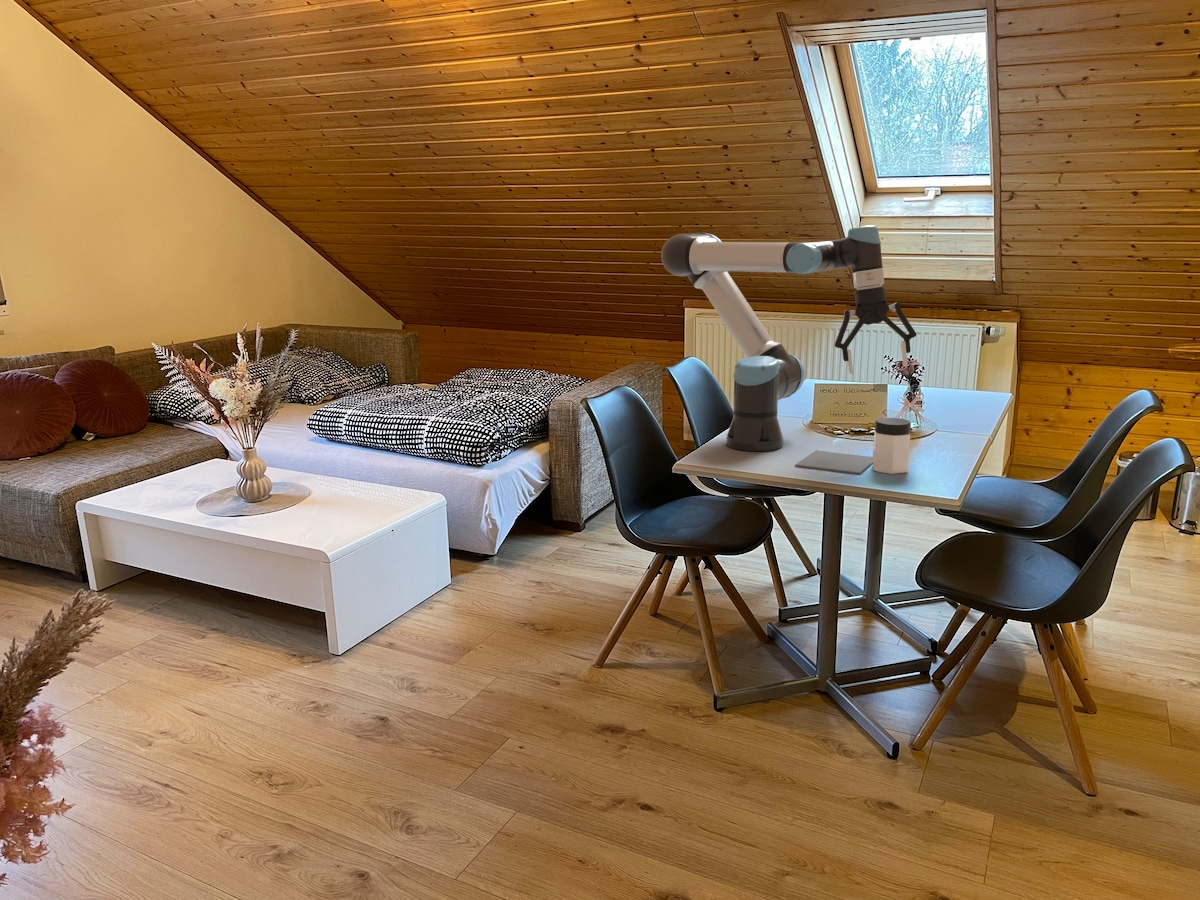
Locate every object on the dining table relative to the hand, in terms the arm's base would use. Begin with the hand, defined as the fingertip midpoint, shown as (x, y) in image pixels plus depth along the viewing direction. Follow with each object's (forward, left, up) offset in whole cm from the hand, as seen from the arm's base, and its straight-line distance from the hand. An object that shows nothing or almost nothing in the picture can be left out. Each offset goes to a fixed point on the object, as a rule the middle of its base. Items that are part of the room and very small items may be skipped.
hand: (878, 369), depth 233 cm
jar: (+9, -19, -21) cm, 30 cm away
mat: (-4, -19, -21) cm, 29 cm away
